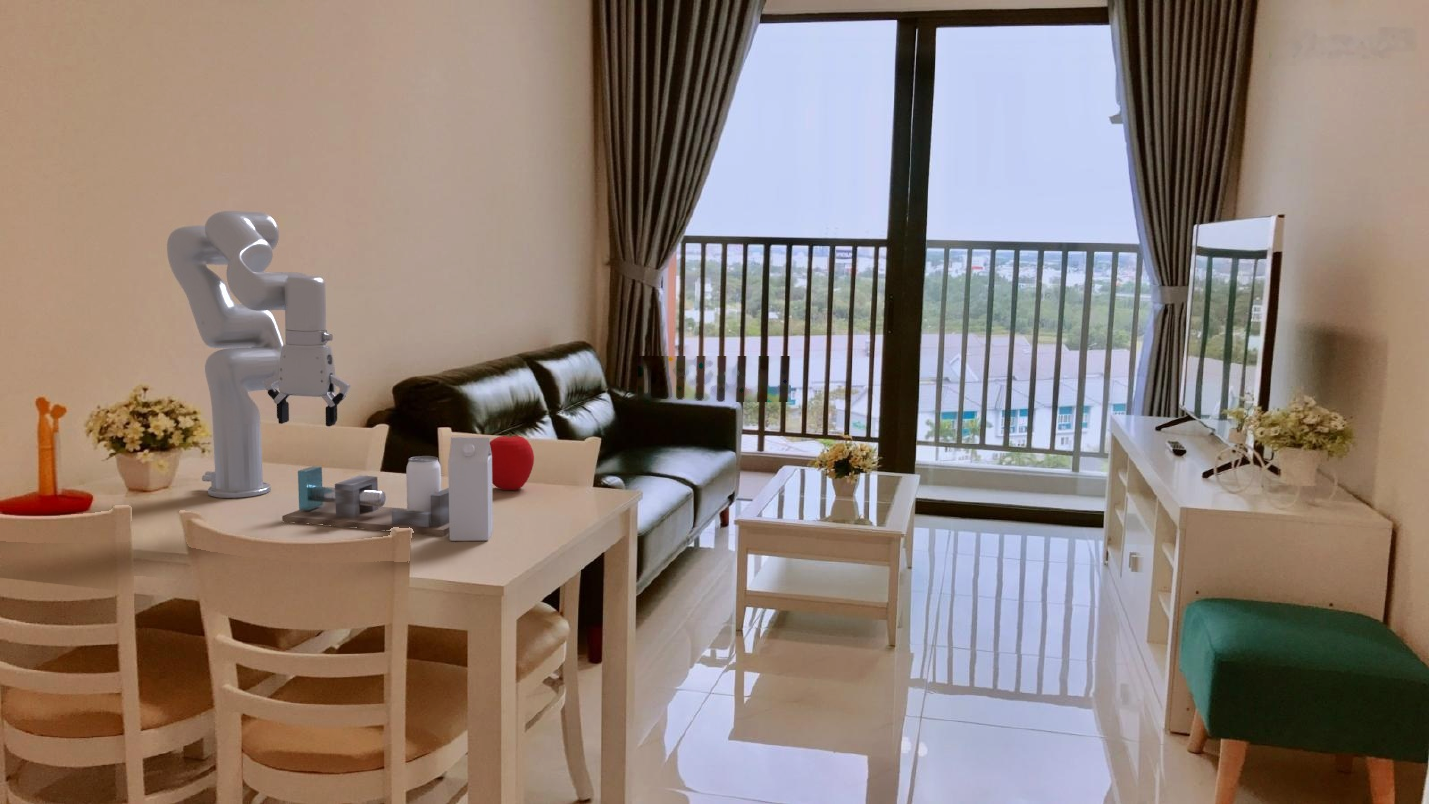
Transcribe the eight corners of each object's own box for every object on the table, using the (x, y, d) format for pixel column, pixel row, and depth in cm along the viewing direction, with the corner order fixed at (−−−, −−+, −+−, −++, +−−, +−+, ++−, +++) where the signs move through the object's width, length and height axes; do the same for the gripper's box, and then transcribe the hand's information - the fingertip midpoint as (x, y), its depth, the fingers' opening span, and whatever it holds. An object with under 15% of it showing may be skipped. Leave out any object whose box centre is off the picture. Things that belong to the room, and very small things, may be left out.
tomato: (498, 496, 239) (498, 439, 238) (476, 488, 248) (475, 432, 246) (543, 490, 246) (543, 434, 245) (520, 482, 255) (519, 428, 253)
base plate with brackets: (282, 521, 214) (280, 482, 213) (322, 507, 227) (320, 470, 226) (443, 536, 206) (443, 495, 205) (475, 520, 218) (475, 481, 217)
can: (432, 524, 210) (431, 462, 208) (401, 521, 211) (400, 460, 210) (447, 516, 216) (446, 456, 215) (416, 514, 217) (415, 454, 216)
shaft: (299, 509, 218) (297, 470, 217) (314, 504, 223) (313, 466, 222) (374, 516, 214) (373, 476, 213) (388, 510, 218) (387, 471, 217)
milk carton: (455, 531, 209) (453, 434, 207) (492, 531, 210) (491, 434, 207) (449, 541, 202) (447, 440, 200) (488, 541, 203) (487, 440, 200)
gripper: (356, 339, 219) (356, 423, 221) (272, 334, 220) (274, 418, 222) (340, 342, 211) (341, 429, 214) (254, 338, 212) (256, 424, 215)
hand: (307, 423), depth 218 cm, fingers open, 9 cm apart
